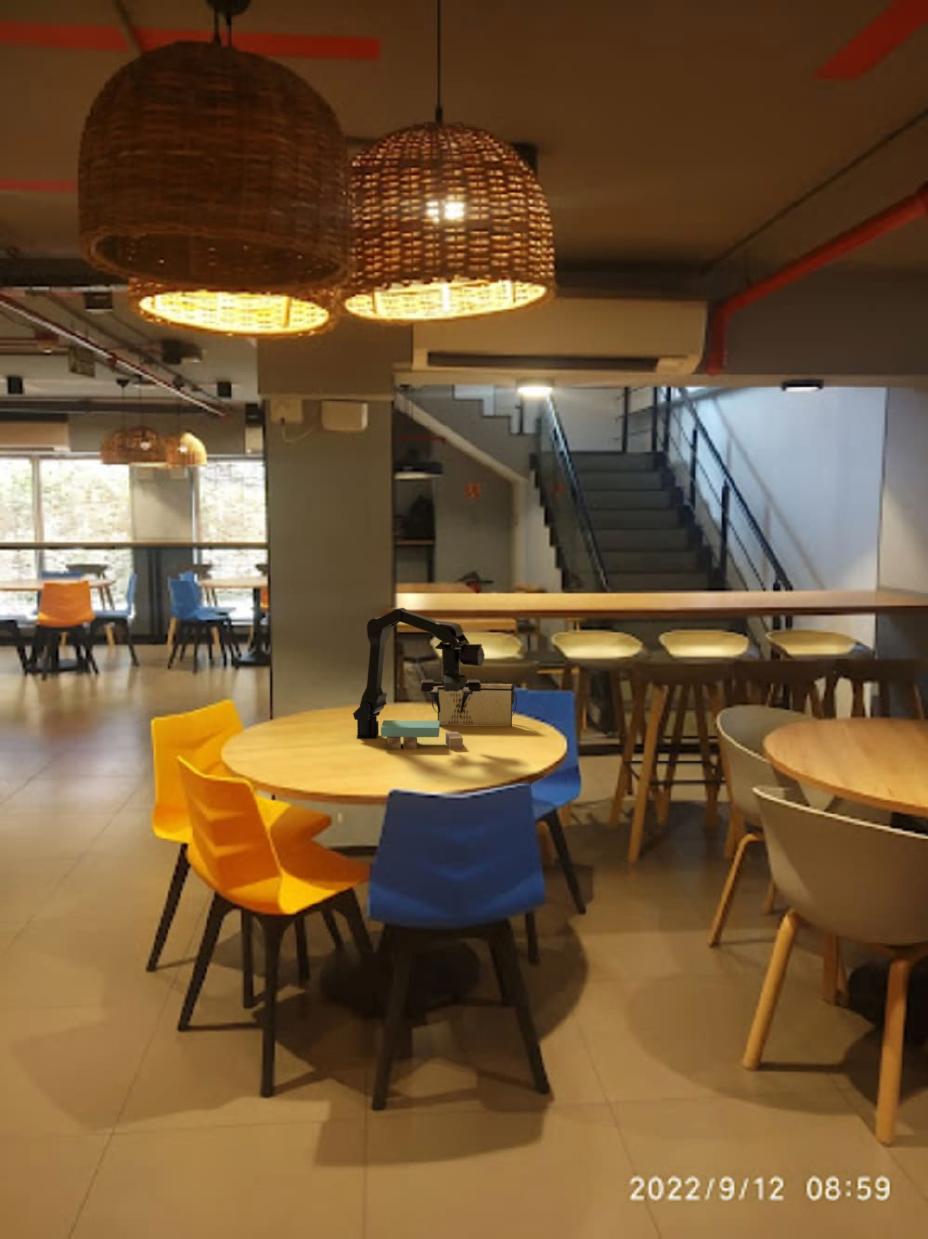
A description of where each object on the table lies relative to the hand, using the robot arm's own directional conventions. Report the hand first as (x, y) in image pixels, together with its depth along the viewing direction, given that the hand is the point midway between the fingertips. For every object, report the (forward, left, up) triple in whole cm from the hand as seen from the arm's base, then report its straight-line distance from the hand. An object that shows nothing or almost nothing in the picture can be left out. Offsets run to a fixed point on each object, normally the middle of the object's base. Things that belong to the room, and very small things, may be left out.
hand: (450, 712), depth 281 cm
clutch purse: (+9, +27, -11) cm, 31 cm away
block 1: (-18, 0, -11) cm, 21 cm away
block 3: (+1, 0, -11) cm, 11 cm away
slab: (-12, +1, -7) cm, 14 cm away
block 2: (-13, +1, -11) cm, 17 cm away
